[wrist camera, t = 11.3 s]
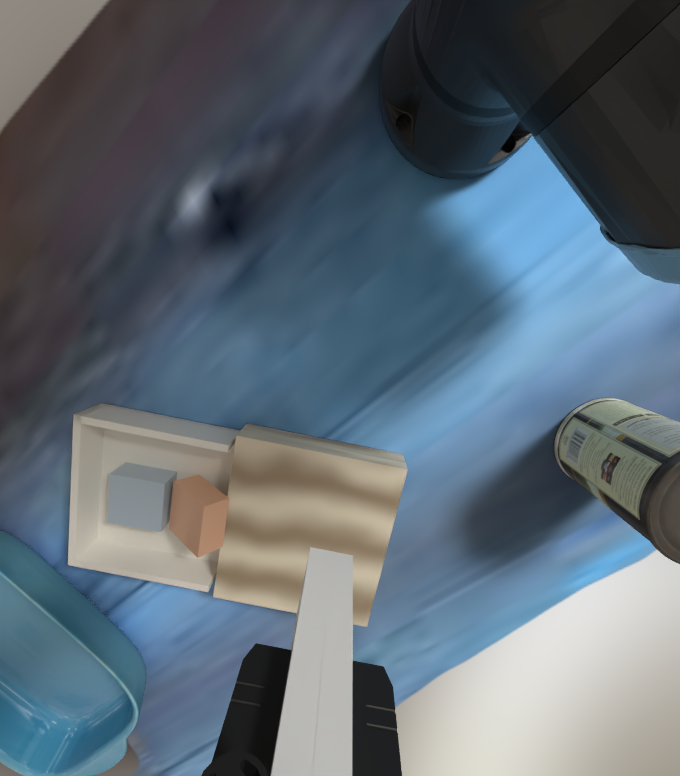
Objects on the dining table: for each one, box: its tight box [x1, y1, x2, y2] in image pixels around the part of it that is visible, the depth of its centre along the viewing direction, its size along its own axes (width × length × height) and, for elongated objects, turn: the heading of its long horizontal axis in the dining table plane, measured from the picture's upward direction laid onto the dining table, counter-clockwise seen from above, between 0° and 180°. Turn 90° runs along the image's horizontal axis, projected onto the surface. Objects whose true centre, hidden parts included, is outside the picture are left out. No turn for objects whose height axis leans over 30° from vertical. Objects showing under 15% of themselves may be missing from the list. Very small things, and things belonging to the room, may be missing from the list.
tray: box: [68, 403, 240, 592], centre depth 43 cm, size 18×16×4 cm
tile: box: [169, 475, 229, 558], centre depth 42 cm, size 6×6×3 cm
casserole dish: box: [0, 530, 146, 776], centre depth 48 cm, size 37×22×7 cm, turn 41°
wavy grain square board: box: [213, 423, 408, 627], centre depth 44 cm, size 20×18×4 cm
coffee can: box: [554, 398, 680, 564], centre depth 36 cm, size 10×10×14 cm
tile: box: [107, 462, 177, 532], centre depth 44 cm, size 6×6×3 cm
